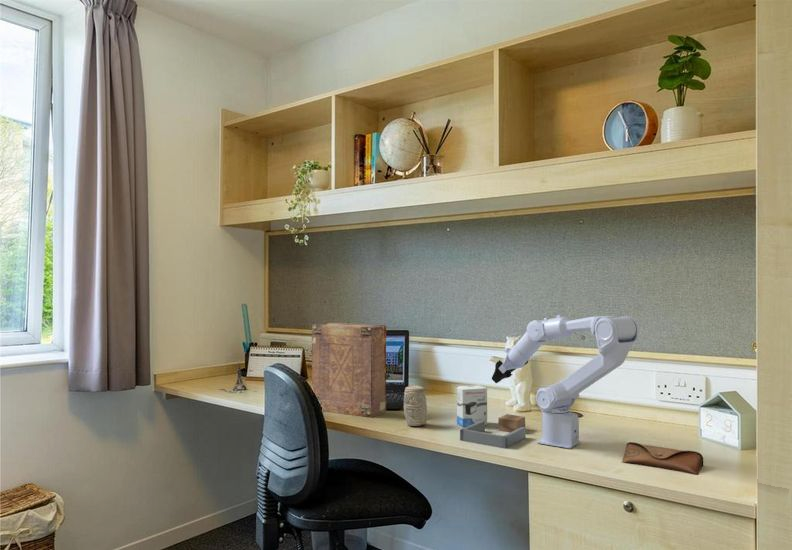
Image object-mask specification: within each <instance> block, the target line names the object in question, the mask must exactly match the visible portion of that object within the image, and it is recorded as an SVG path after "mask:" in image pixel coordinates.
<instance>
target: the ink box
mask: <svg viewBox="0 0 792 550" xmlns="http://www.w3.org/2000/svg"><path fill="white" fill-rule="evenodd" d="M480 421H485V426H488V388H487V387H485V386H483V385H478V384H477V385H459V386H458V387H456V424H458V426H461V427H462V428H465V427H467V426H470V425H472V424H475V423H477V422H480Z"/></svg>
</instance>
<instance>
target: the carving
mask: <svg viewBox="0 0 792 550" xmlns="http://www.w3.org/2000/svg"><path fill="white" fill-rule="evenodd" d="M403 394H404V395H403V412H404V413H403V414H404V418H405V421H406V425H407V426H409V427H419V426H423V425H425V424H426V423H427V421H428V405H427V397H426V396H427V395H426V389H425V387H423V386H420V385H410V386H406V387H405V388H404V392H403Z"/></svg>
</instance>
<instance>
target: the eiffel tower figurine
mask: <svg viewBox="0 0 792 550" xmlns="http://www.w3.org/2000/svg"><path fill="white" fill-rule="evenodd" d="M240 360H241V359H239V361H238V369H237V379H236V381H235V384H234V386H233V389H232V390H226V388H220V389H219V390H220V391H223V392H227V393H231V394H243V393H245V392H246V391H247V390H248V388H247V387H246V385H245V384H244V381H243V379H242V372H241V371H242V370H241V361H240ZM238 387H240V388H238ZM254 392H255V390H254V391H251V393H254Z"/></svg>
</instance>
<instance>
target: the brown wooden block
mask: <svg viewBox="0 0 792 550" xmlns="http://www.w3.org/2000/svg"><path fill="white" fill-rule="evenodd" d="M497 424H498V431H499V432H503V433H510V432H512V431H514V430H517V429H519V428H521V427H525V428H526V416H523V415H515V414H509V413H507V414H504V415H502V416H500V417H498V423H497Z"/></svg>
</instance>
